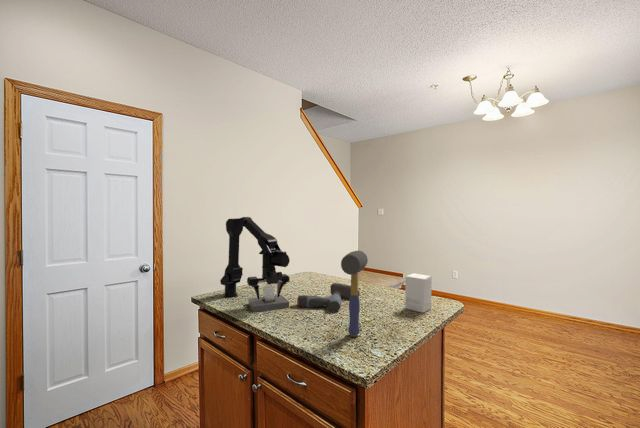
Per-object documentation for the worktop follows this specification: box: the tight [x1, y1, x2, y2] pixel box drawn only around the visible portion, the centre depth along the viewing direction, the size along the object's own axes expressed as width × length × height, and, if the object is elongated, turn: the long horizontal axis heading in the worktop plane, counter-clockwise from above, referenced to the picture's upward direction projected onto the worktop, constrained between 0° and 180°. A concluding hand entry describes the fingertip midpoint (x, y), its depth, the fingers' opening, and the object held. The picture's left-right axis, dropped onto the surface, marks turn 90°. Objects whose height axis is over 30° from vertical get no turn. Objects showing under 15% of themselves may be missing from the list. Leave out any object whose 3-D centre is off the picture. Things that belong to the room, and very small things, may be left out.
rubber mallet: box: [340, 250, 369, 337], centre depth 103 cm, size 12×8×30 cm, turn 158°
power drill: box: [296, 292, 342, 313], centre depth 137 cm, size 5×19×20 cm
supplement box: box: [404, 273, 432, 313], centre depth 132 cm, size 9×9×15 cm
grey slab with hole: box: [248, 294, 290, 313], centre depth 134 cm, size 12×16×2 cm
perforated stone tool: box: [329, 282, 360, 299], centre depth 148 cm, size 15×5×7 cm, turn 68°
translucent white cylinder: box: [262, 284, 275, 303], centre depth 134 cm, size 4×4×9 cm
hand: (268, 298), depth 134 cm, fingers open, 9 cm apart
